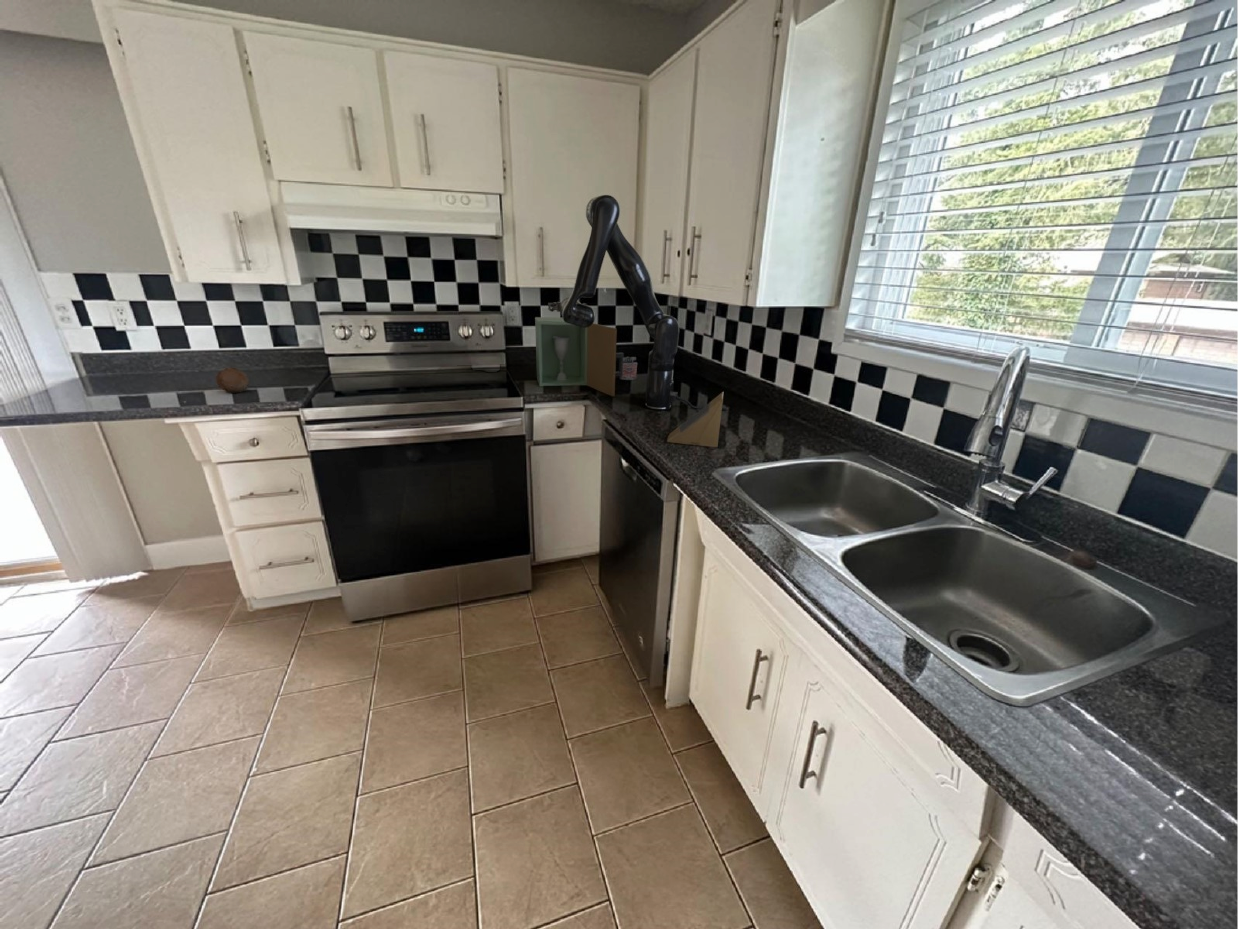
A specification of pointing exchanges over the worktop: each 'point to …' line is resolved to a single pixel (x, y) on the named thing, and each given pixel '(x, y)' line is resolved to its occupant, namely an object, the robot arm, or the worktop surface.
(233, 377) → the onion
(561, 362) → the chalice
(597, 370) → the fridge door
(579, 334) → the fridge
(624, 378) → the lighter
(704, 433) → the sandwich container
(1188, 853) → the worktop surface
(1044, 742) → the worktop surface
